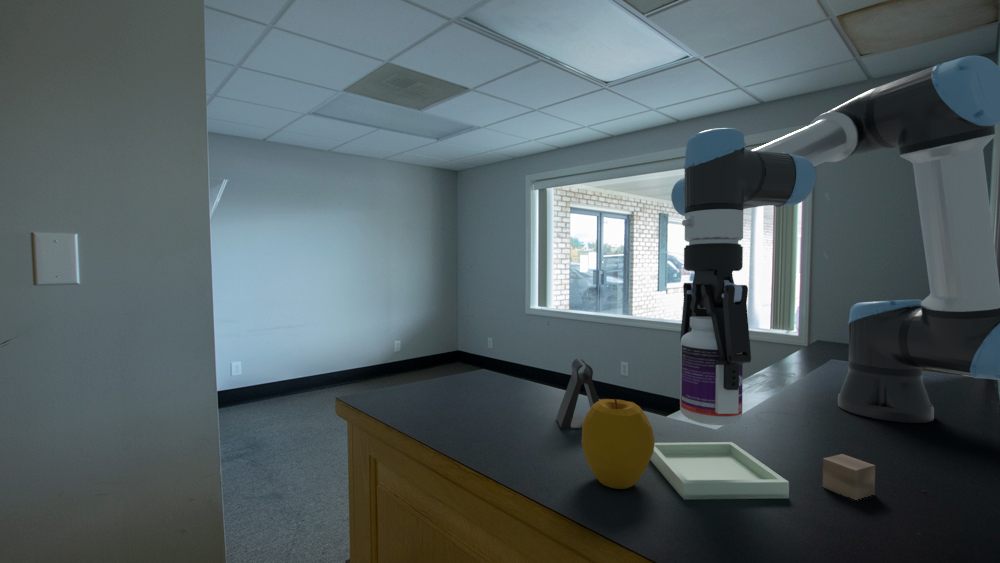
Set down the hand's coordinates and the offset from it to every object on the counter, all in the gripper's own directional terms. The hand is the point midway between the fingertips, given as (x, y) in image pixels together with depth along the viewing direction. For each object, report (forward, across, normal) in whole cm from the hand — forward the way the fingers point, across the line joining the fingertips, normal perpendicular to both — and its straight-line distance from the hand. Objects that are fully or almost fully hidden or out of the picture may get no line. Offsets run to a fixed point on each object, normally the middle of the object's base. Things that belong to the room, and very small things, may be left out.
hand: (710, 403), depth 64 cm
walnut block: (+10, +5, +16) cm, 20 cm away
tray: (+10, 0, 0) cm, 10 cm away
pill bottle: (+2, 0, 0) cm, 2 cm away
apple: (+11, +2, -14) cm, 18 cm away
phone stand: (+11, -22, -14) cm, 28 cm away
